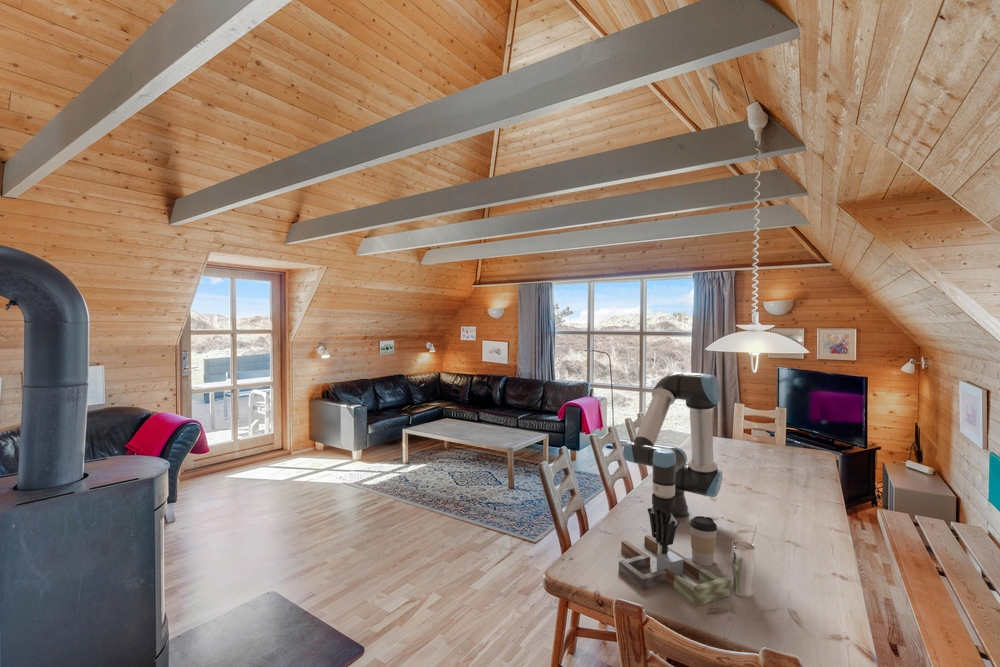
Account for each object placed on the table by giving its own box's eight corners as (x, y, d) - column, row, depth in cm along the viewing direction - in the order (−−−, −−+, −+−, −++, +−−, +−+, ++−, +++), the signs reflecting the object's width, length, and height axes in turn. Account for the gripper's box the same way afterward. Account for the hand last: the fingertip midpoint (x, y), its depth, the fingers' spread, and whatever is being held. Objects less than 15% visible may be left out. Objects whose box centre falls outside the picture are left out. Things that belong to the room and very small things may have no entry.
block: (669, 564, 161) (670, 550, 161) (683, 573, 156) (683, 559, 156) (656, 568, 159) (656, 554, 159) (669, 577, 154) (669, 562, 153)
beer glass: (746, 585, 149) (747, 539, 149) (759, 598, 142) (760, 550, 142) (725, 585, 149) (726, 540, 149) (737, 598, 142) (738, 550, 142)
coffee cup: (700, 568, 159) (701, 525, 159) (683, 555, 168) (684, 515, 167) (722, 565, 162) (723, 523, 161) (704, 552, 170) (705, 512, 170)
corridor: (648, 544, 176) (648, 531, 176) (729, 595, 143) (730, 580, 143) (599, 555, 167) (599, 542, 167) (673, 614, 134) (674, 597, 134)
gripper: (642, 489, 165) (640, 554, 165) (668, 502, 153) (667, 572, 153) (658, 486, 168) (656, 550, 168) (685, 499, 156) (684, 568, 156)
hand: (661, 561), depth 161 cm, fingers closed
